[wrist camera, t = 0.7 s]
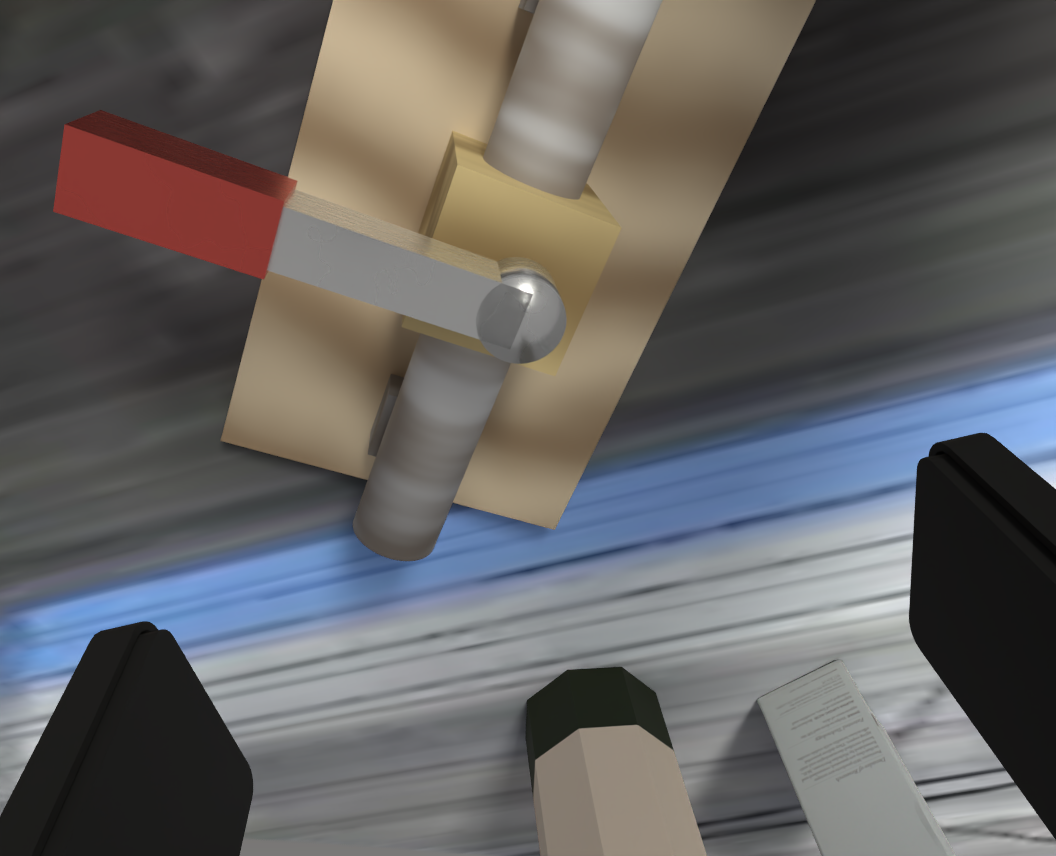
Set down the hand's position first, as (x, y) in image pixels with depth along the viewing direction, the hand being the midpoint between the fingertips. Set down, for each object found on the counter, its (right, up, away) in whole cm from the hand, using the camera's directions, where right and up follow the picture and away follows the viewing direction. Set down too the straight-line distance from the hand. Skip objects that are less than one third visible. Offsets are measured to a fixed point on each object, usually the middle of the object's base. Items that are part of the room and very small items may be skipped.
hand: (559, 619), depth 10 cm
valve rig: (-2, +11, +23) cm, 26 cm away
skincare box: (+18, -15, +41) cm, 47 cm away
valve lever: (-6, +8, +13) cm, 17 cm away
